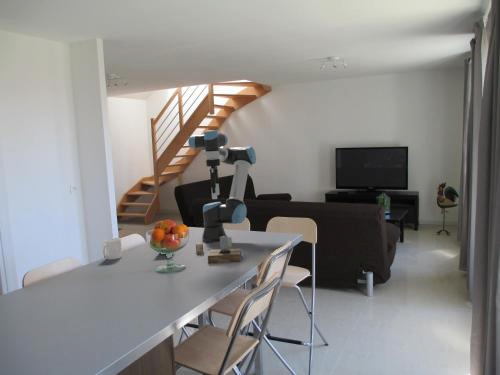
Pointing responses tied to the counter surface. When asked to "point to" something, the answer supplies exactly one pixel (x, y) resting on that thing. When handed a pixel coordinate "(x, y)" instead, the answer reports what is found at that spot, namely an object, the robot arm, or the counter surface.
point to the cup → (112, 248)
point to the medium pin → (229, 242)
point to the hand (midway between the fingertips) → (216, 197)
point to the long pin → (224, 244)
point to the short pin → (199, 248)
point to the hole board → (225, 256)
